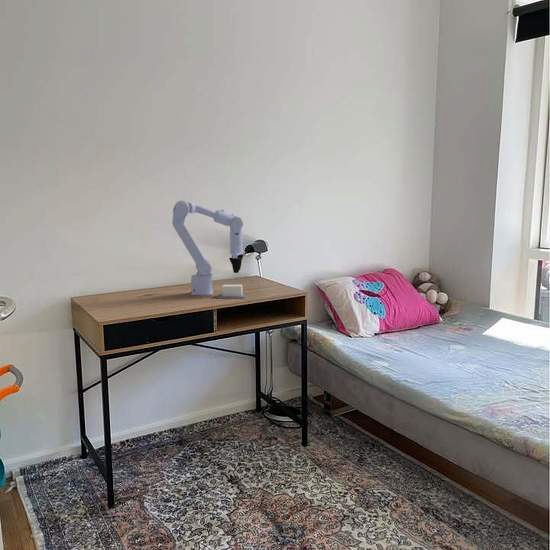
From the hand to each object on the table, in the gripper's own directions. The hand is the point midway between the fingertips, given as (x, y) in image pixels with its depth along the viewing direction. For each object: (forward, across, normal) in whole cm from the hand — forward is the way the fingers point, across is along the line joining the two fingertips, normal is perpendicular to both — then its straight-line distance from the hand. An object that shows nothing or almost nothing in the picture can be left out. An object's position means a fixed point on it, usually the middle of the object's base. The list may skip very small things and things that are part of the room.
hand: (237, 271), depth 255 cm
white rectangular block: (+9, -11, +1) cm, 14 cm away
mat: (+9, -11, +2) cm, 15 cm away
